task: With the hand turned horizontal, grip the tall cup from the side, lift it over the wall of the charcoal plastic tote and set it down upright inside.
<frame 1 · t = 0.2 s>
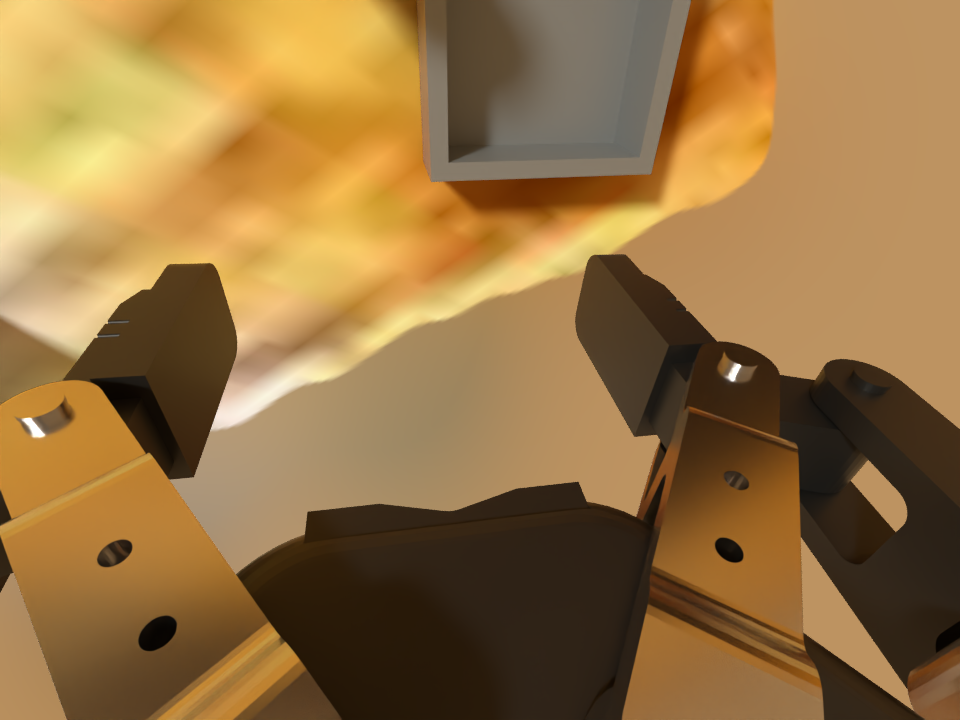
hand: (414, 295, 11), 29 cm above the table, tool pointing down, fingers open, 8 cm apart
tote: (536, 35, 33), on the table
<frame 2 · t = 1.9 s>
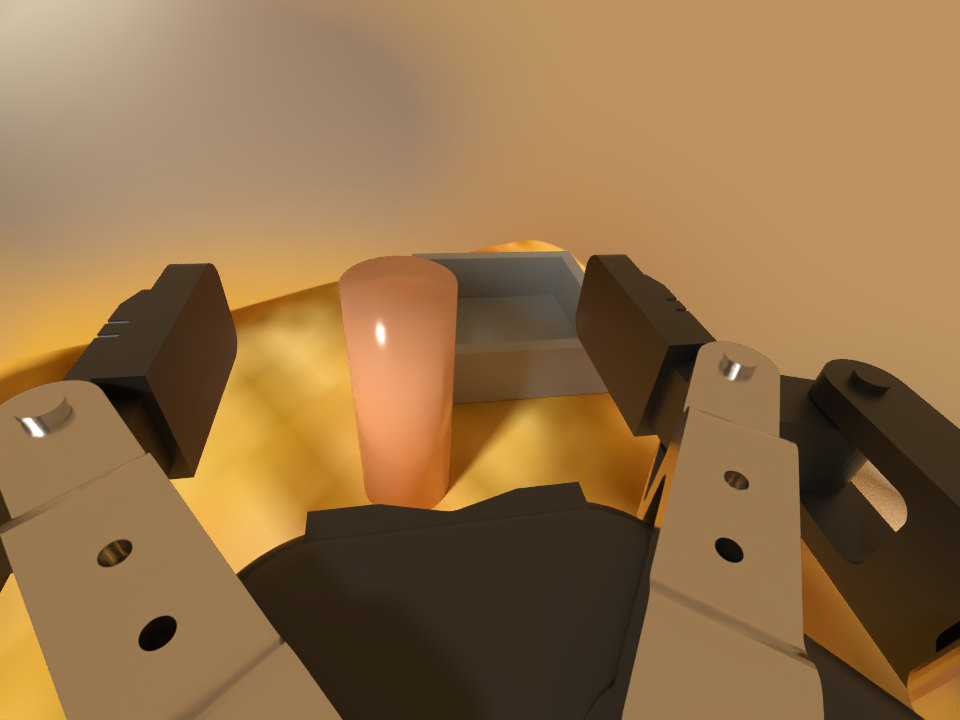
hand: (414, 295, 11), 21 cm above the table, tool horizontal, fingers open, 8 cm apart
tote: (504, 339, 46), on the table
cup: (407, 479, 32), on the table
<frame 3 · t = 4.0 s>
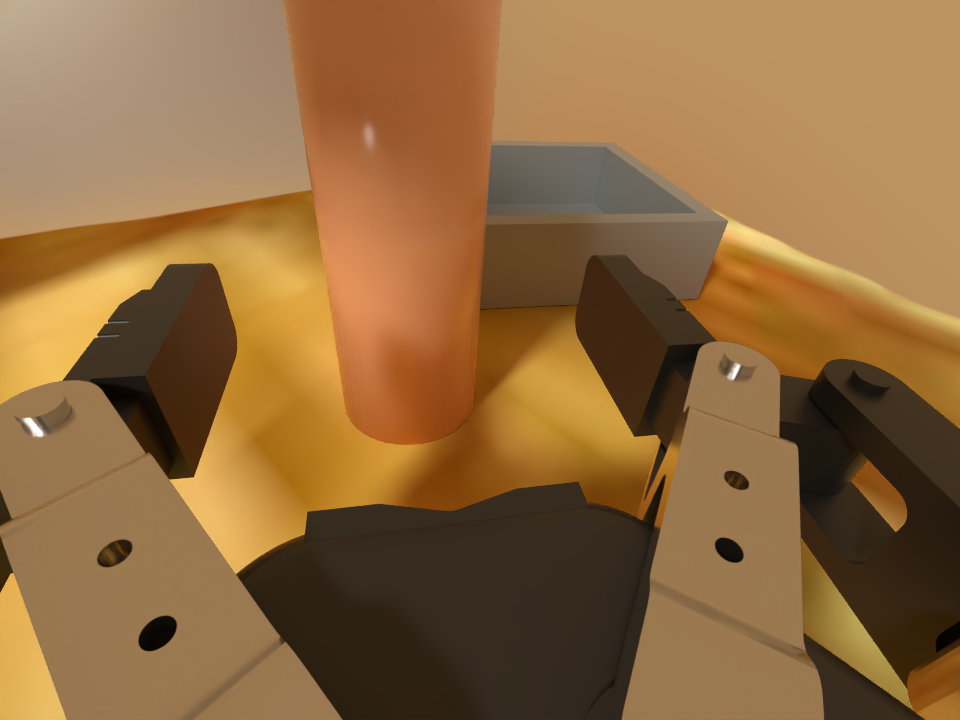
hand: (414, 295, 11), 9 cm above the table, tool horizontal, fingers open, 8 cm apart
tote: (536, 245, 35), on the table
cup: (410, 396, 21), on the table
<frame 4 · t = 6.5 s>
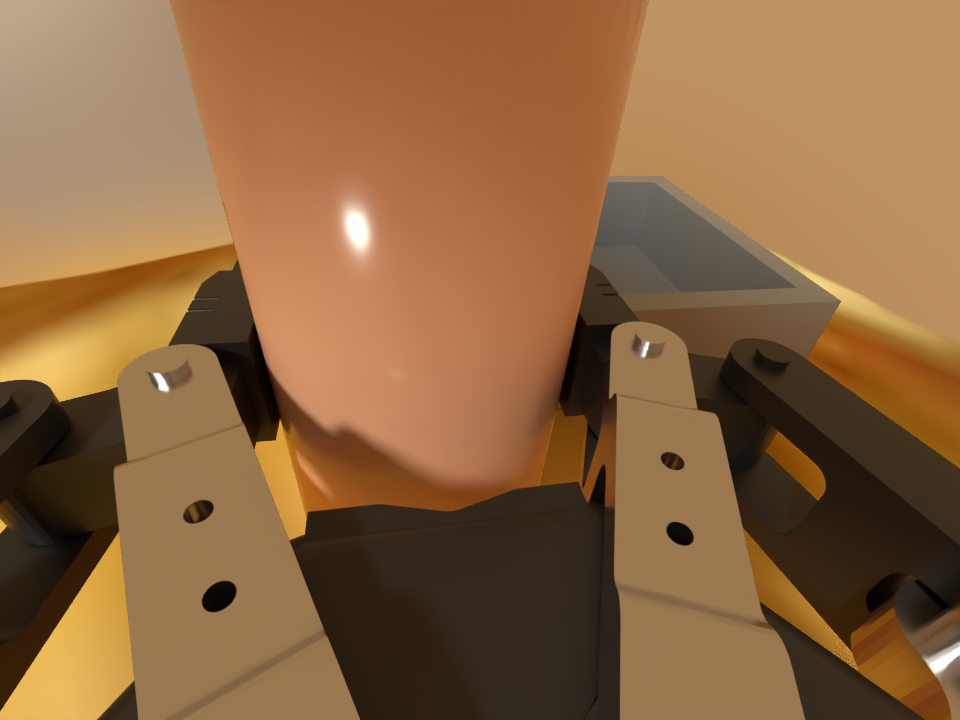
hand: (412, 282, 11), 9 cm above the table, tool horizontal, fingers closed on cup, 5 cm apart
tote: (574, 307, 28), on the table
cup: (424, 579, 15), on the table, touching gripper
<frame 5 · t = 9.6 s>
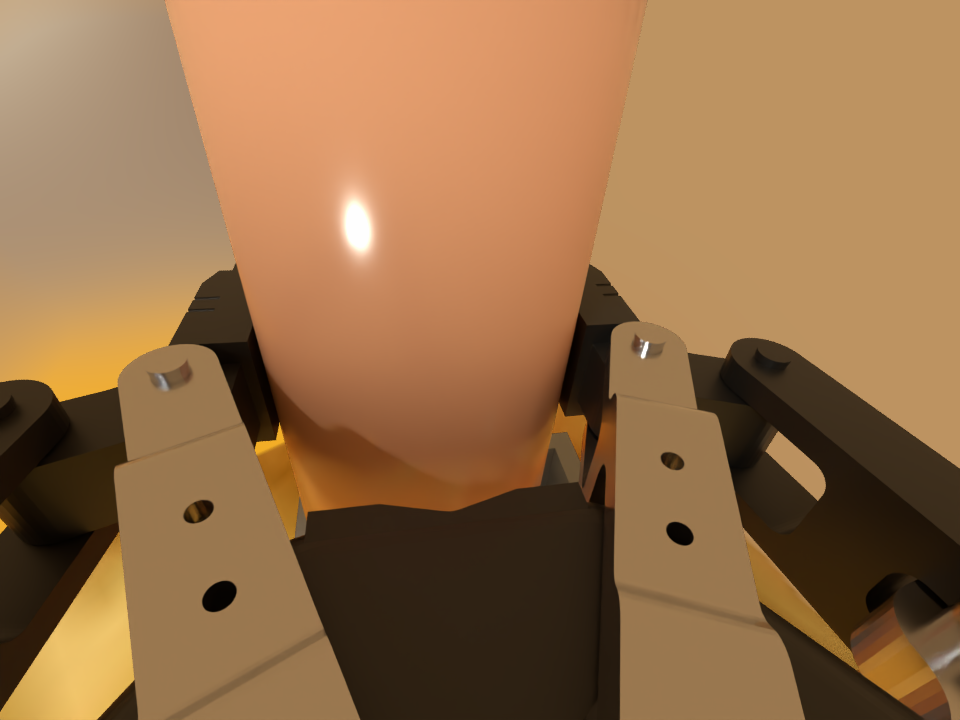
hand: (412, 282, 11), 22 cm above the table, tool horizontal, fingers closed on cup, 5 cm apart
tote: (459, 617, 27), on the table
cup: (425, 580, 15), point 13 cm above the table, touching gripper
when the fingers open (11 cm above the table, at t = 13.1 s): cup drops 1 cm, resting on tote.
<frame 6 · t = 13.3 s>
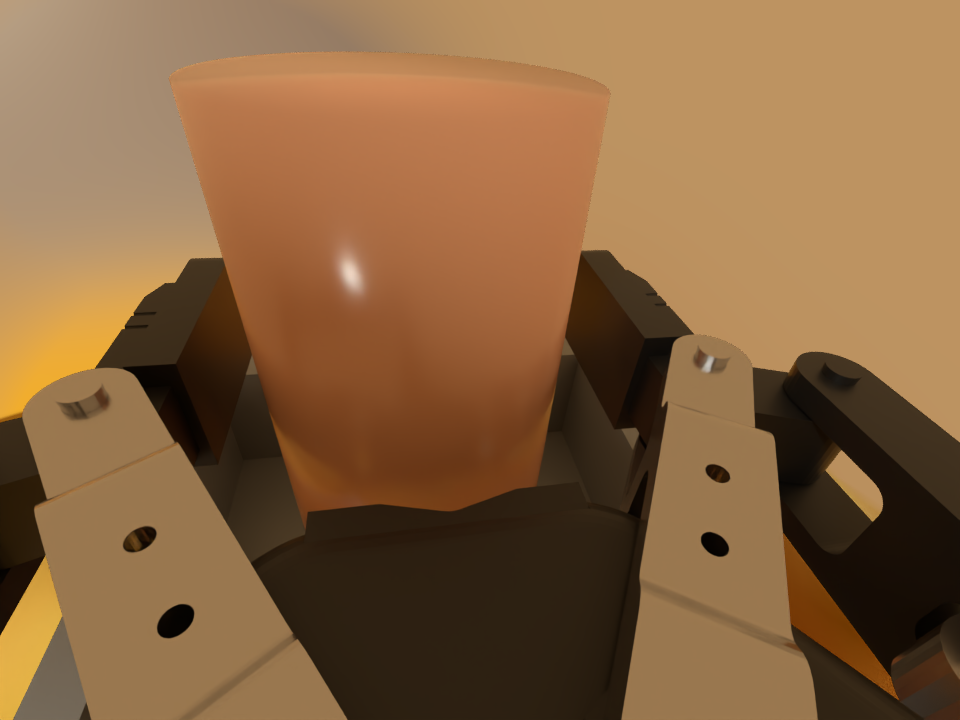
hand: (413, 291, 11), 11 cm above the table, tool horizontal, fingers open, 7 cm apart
tote: (425, 609, 16), on the table
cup: (426, 605, 16), point 1 cm above the table, touching tote
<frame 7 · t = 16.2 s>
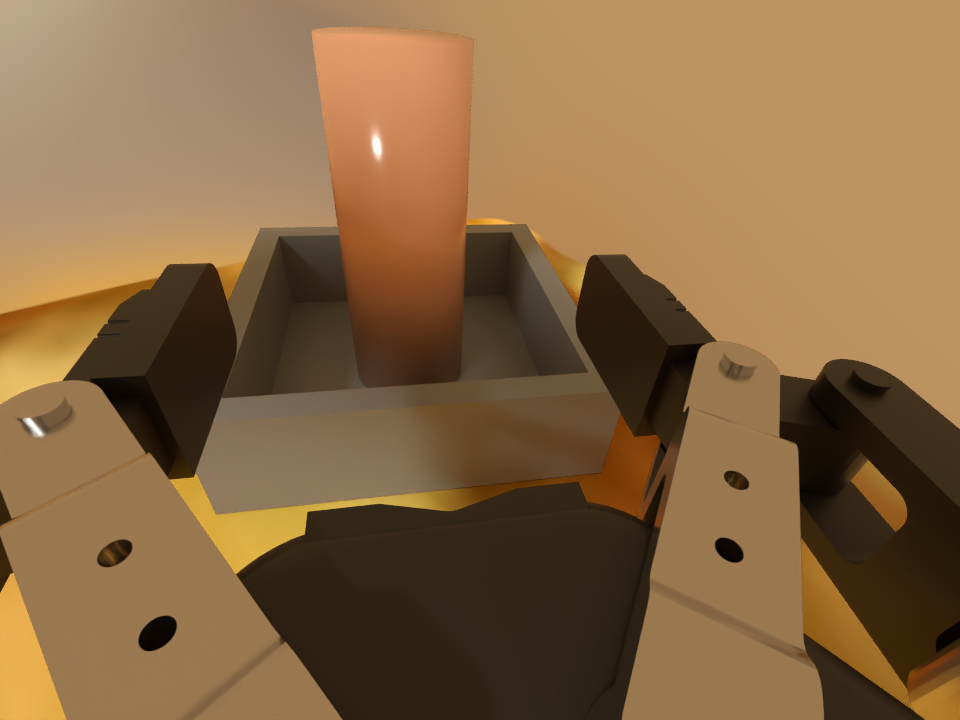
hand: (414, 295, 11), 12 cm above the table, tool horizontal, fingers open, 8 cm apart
tote: (409, 371, 27), on the table
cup: (409, 365, 26), point 1 cm above the table, touching tote
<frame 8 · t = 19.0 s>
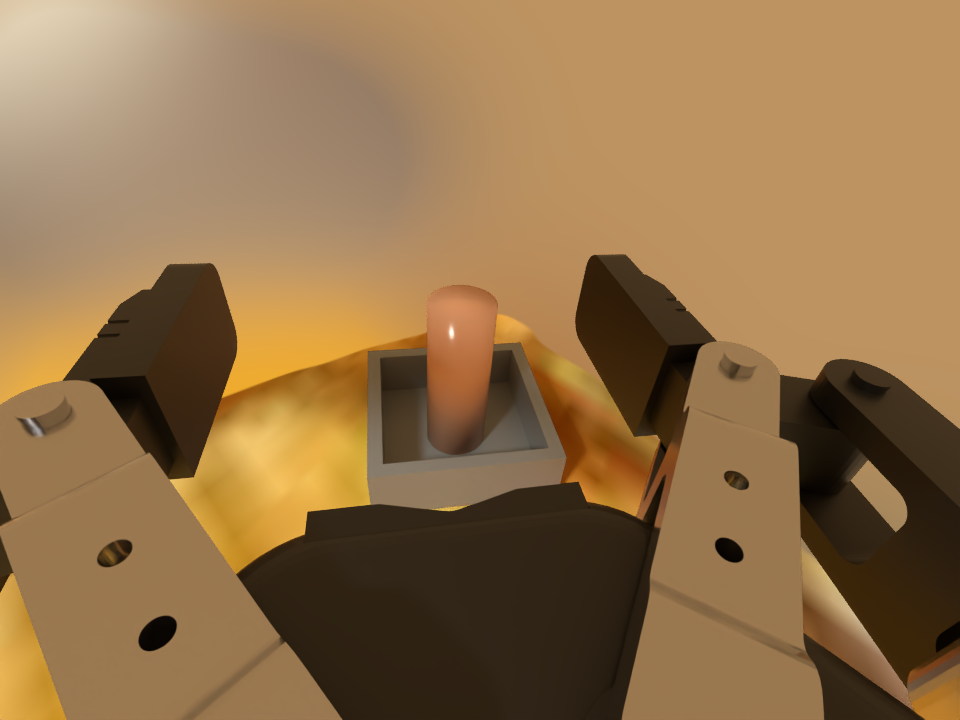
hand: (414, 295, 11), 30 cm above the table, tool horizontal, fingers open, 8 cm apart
tote: (455, 435, 48), on the table
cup: (455, 432, 47), point 1 cm above the table, touching tote
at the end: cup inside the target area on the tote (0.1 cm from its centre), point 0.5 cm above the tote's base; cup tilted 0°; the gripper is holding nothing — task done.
